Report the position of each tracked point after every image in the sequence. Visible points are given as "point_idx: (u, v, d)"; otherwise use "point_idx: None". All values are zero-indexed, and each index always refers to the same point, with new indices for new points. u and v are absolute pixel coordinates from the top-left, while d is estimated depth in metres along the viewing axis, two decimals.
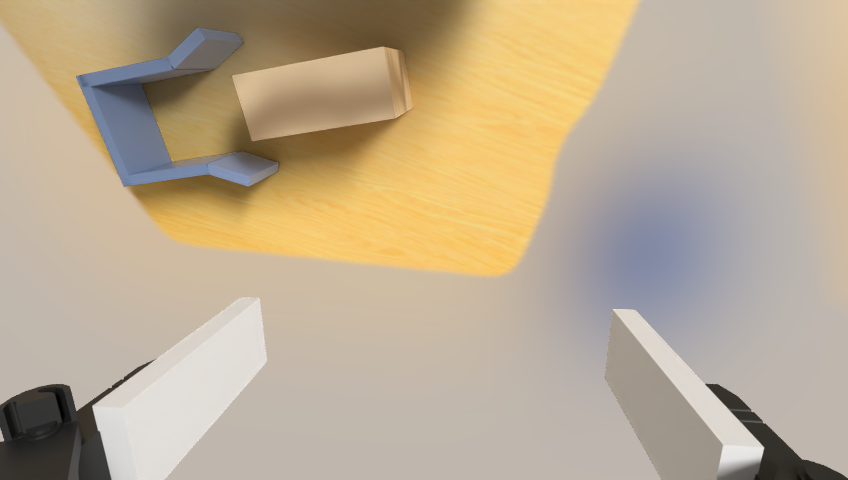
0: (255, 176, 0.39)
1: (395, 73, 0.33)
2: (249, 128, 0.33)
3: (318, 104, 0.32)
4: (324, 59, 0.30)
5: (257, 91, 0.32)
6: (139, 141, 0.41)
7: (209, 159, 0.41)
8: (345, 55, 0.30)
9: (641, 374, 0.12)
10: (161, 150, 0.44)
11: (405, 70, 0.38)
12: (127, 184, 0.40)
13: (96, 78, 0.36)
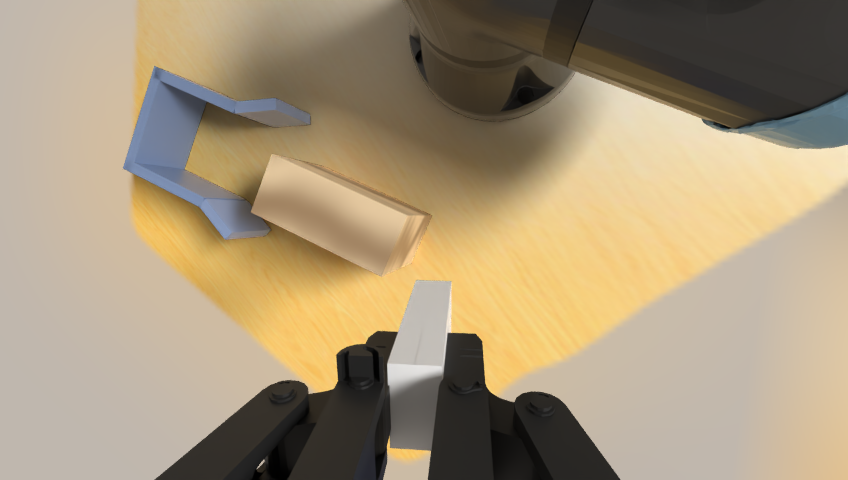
0: (238, 234, 0.38)
1: (408, 236, 0.34)
2: (255, 201, 0.33)
3: (325, 222, 0.32)
4: (354, 193, 0.31)
5: (283, 179, 0.32)
6: (168, 140, 0.41)
7: (212, 192, 0.40)
8: (372, 201, 0.31)
9: None
10: (182, 156, 0.44)
11: (423, 231, 0.39)
12: (127, 168, 0.39)
13: (169, 78, 0.38)
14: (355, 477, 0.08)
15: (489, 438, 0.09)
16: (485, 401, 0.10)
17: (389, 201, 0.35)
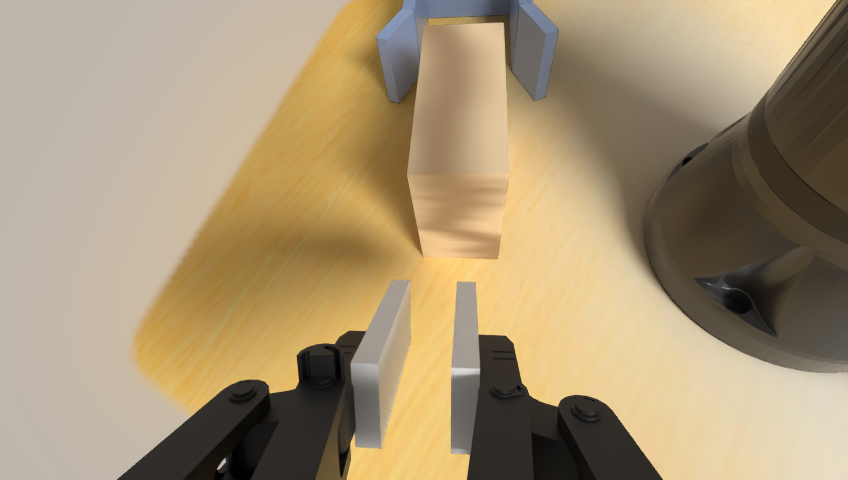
0: (385, 53, 0.32)
1: (470, 209, 0.23)
2: (439, 26, 0.26)
3: (450, 93, 0.23)
4: (504, 108, 0.22)
5: (480, 40, 0.25)
6: None
7: (419, 29, 0.35)
8: (505, 130, 0.21)
9: None
10: (440, 9, 0.41)
11: (472, 253, 0.27)
12: None
13: None
14: (319, 473, 0.08)
15: (530, 444, 0.08)
16: (526, 406, 0.10)
17: None
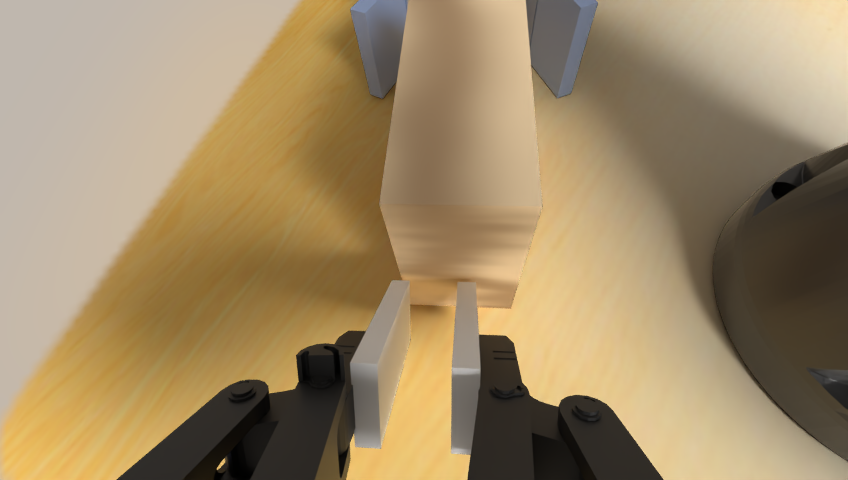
0: (364, 31, 0.24)
1: (477, 251, 0.15)
2: None
3: (448, 76, 0.16)
4: (530, 100, 0.15)
5: (491, 3, 0.18)
6: None
7: None
8: (533, 135, 0.14)
9: None
10: None
11: (477, 301, 0.20)
12: None
13: None
14: (319, 473, 0.08)
15: (530, 444, 0.08)
16: (527, 406, 0.10)
17: None
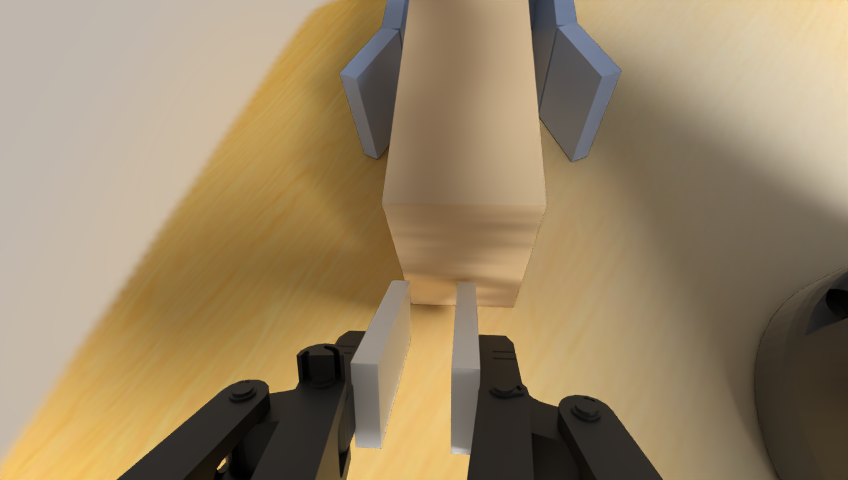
0: (355, 96, 0.21)
1: (480, 250, 0.15)
2: None
3: (450, 74, 0.15)
4: (533, 98, 0.15)
5: None
6: None
7: None
8: (536, 133, 0.14)
9: None
10: None
11: (479, 300, 0.20)
12: None
13: None
14: (319, 473, 0.08)
15: (530, 444, 0.08)
16: (526, 406, 0.10)
17: None
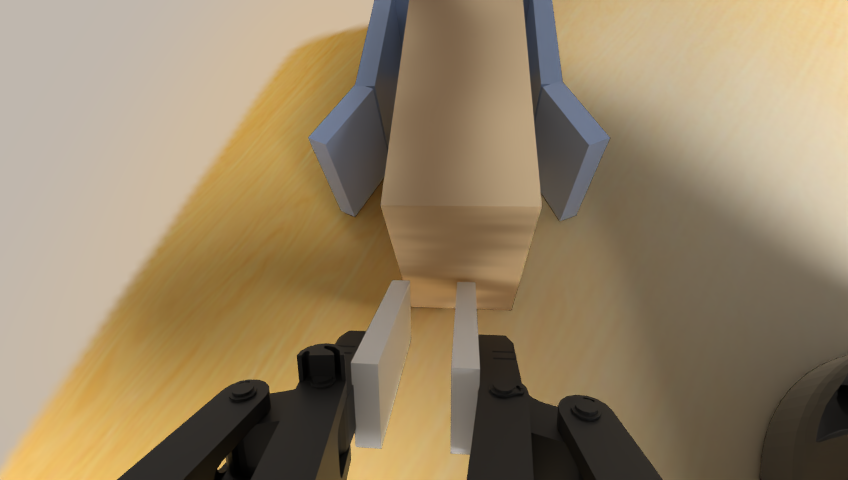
0: (326, 159, 0.20)
1: (477, 252, 0.15)
2: None
3: (447, 80, 0.16)
4: (529, 103, 0.15)
5: (490, 8, 0.18)
6: None
7: (386, 107, 0.23)
8: (532, 137, 0.14)
9: None
10: None
11: (477, 302, 0.20)
12: None
13: None
14: (319, 473, 0.08)
15: (530, 444, 0.08)
16: (526, 406, 0.10)
17: None
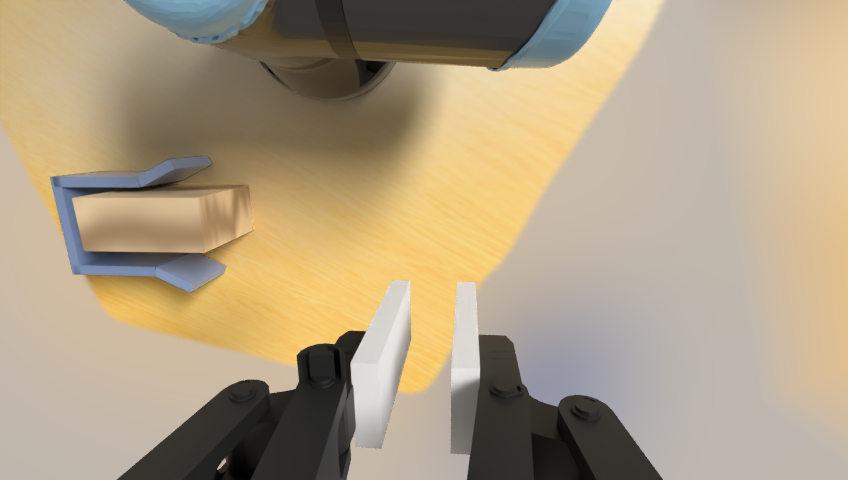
0: (199, 283, 0.43)
1: (219, 212, 0.40)
2: (82, 240, 0.38)
3: (142, 231, 0.38)
4: (149, 199, 0.37)
5: (92, 213, 0.38)
6: None
7: (160, 258, 0.44)
8: (166, 199, 0.37)
9: None
10: None
11: (246, 201, 0.45)
12: (76, 272, 0.43)
13: (68, 181, 0.40)
14: (319, 473, 0.08)
15: (530, 444, 0.08)
16: (526, 406, 0.10)
17: (194, 191, 0.41)
